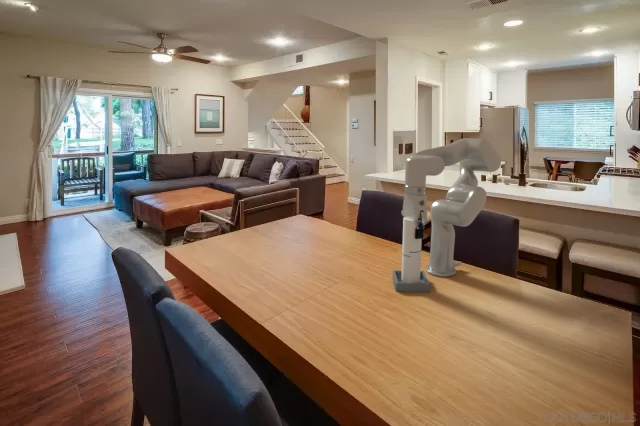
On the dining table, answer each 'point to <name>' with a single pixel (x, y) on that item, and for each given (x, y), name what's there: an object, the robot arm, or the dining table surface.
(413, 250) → the cylindrical container
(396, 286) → the tray
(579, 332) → the dining table surface
